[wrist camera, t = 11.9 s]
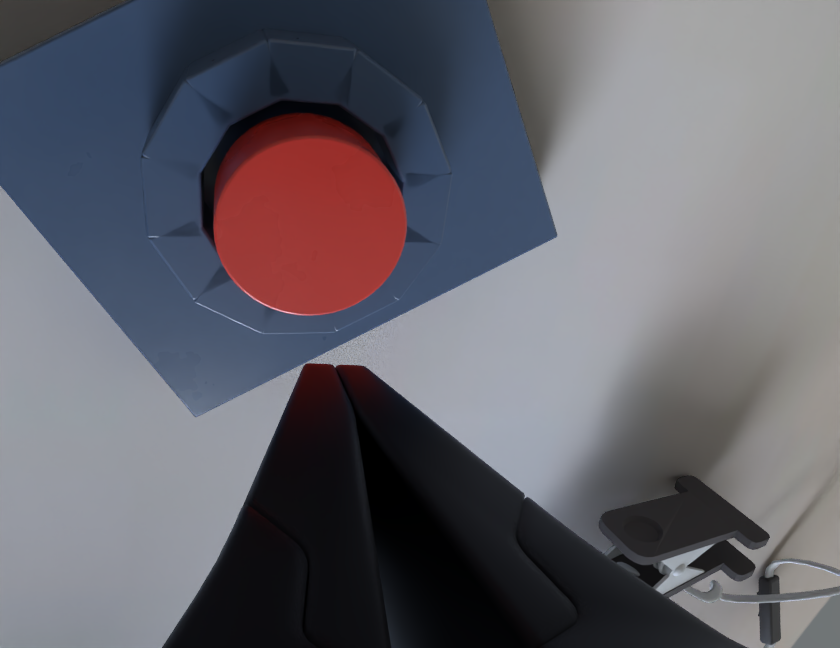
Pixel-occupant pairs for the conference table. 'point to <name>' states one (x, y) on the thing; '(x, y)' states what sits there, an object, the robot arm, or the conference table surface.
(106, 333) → the conference table surface
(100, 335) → the conference table surface
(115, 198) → the switch block
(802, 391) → the conference table surface
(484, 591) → the robot arm
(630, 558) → the clip-on lamp
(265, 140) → the switch button
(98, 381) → the conference table surface
